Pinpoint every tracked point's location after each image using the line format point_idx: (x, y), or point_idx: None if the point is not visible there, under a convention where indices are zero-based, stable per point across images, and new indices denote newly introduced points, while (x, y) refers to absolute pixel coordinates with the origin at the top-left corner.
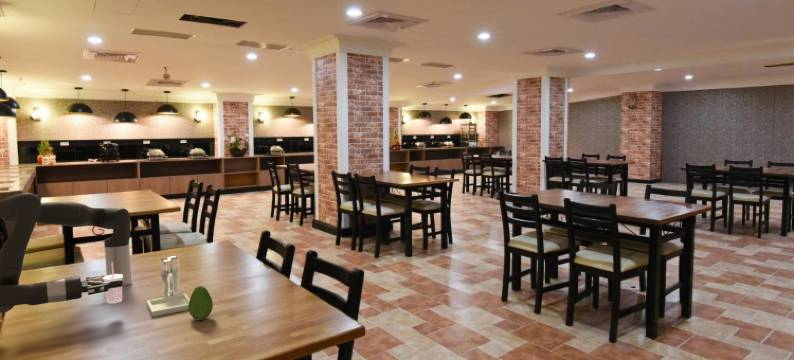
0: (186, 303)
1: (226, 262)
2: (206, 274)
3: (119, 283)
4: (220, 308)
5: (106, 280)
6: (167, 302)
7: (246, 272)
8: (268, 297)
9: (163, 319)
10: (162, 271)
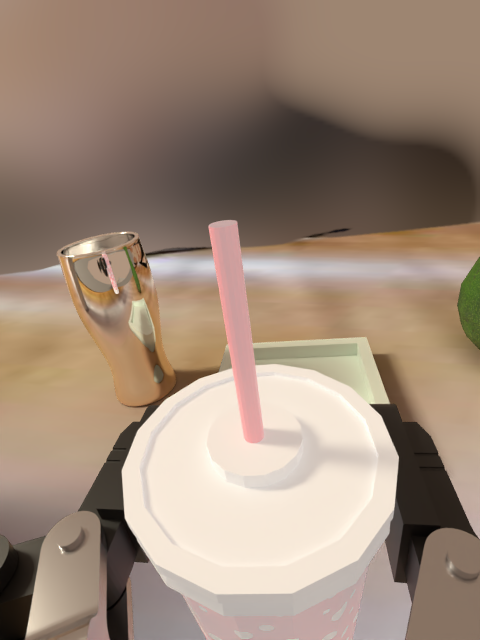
0: (304, 359)
1: (28, 289)
2: (61, 315)
3: (424, 440)
4: (396, 312)
5: (361, 558)
6: None
7: None
8: (356, 260)
9: (461, 439)
10: (118, 305)
